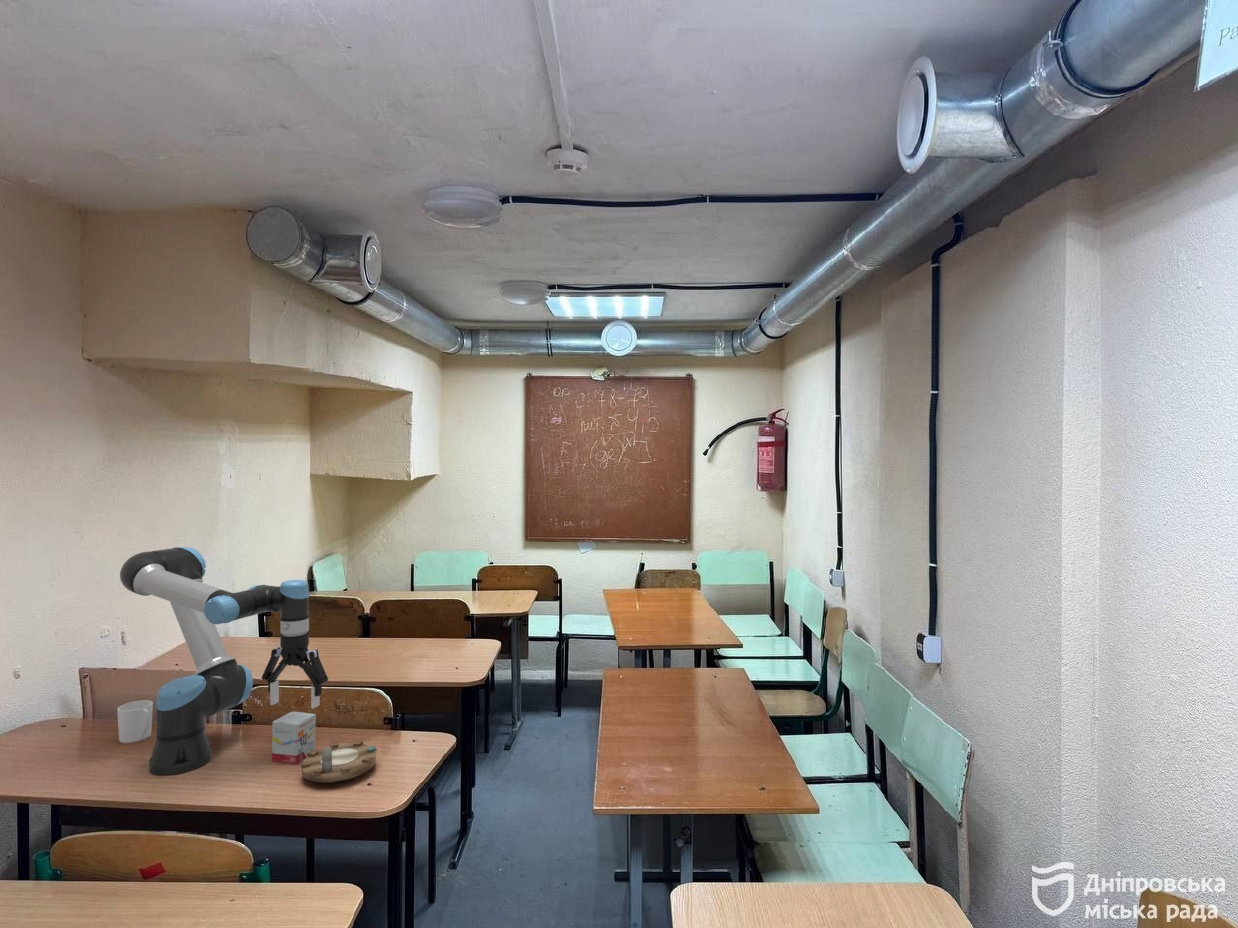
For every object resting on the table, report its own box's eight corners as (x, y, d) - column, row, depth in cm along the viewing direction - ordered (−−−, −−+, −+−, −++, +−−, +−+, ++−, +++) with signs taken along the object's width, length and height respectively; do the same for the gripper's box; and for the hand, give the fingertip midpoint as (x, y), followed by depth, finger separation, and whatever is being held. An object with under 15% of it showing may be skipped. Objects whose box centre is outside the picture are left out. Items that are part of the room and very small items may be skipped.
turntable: (296, 760, 183) (297, 732, 183) (368, 744, 194) (368, 717, 194) (306, 789, 167) (306, 758, 167) (383, 770, 178) (383, 741, 178)
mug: (110, 741, 199) (110, 708, 199) (141, 730, 208) (141, 698, 208) (133, 747, 195) (133, 713, 195) (163, 736, 203) (163, 703, 203)
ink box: (296, 764, 185) (296, 723, 185) (270, 761, 187) (270, 721, 187) (316, 751, 193) (316, 712, 193) (291, 748, 195) (291, 709, 195)
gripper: (248, 634, 188) (248, 706, 188) (324, 638, 184) (324, 712, 184) (266, 627, 196) (266, 697, 196) (340, 631, 191) (340, 703, 191)
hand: (294, 705), depth 190 cm, fingers open, 13 cm apart
